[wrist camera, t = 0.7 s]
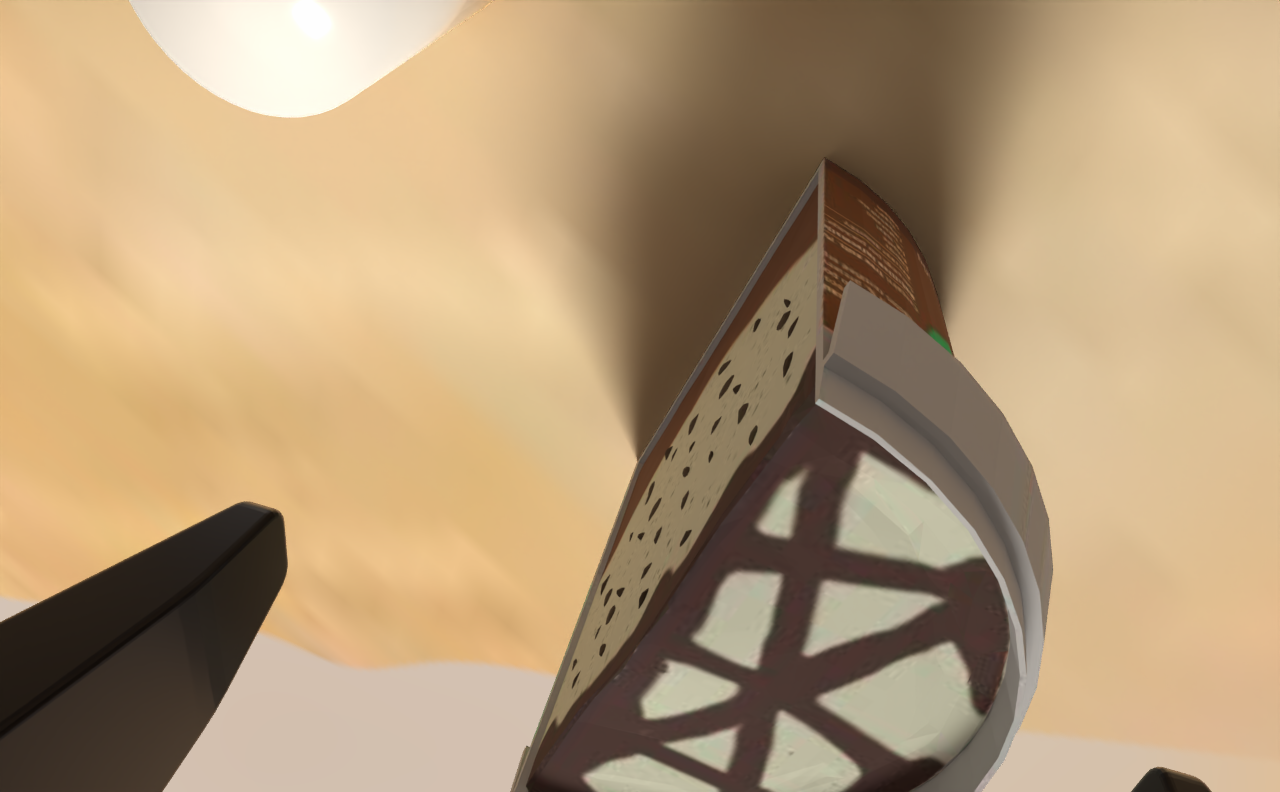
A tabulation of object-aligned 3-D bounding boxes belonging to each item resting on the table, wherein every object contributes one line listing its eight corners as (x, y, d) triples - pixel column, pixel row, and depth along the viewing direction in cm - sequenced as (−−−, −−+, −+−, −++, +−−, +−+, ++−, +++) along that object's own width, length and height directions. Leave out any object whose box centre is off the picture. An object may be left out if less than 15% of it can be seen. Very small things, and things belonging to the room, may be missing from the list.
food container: (815, 598, 26) (781, 980, 18) (614, 498, 26) (488, 844, 18) (1134, 239, 19) (1310, 608, 11) (863, 91, 19) (842, 365, 11)
